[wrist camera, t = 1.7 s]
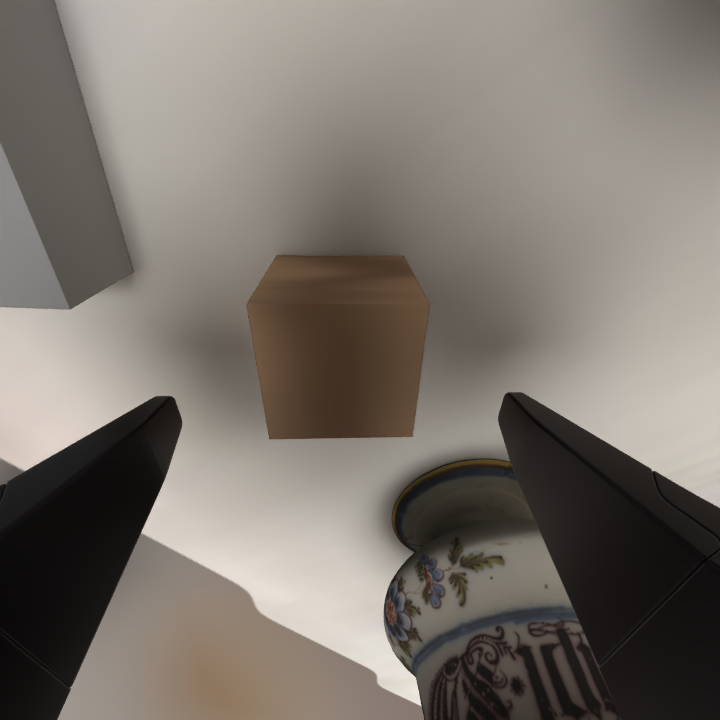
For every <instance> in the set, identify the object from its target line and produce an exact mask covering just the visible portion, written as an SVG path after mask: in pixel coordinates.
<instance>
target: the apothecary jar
mask: <svg viewBox="0 0 720 720" xmlns="http://www.w3.org/2000/svg"><path fill="white" fill-rule="evenodd" d="M392 525H393V529H394V531H395V533H396V535H397V537H398V538H399V540H400V541H401V542H402V543H403V544H404V545H405V546H406V547H407V548H409V549H410V550H412V551H414V552H415V553H414V554H413V555H412V556H410V557H409V558H408V559H407V560H406V562H405V563H404V564H403V565H402V566H401V568H400V569H399V570H398V572H397V573H396V575H395V576H394V578H393V579H392V581H391V583H390V585H389V588H388V591H387V594H386V598H385V604H384V626H385V632H386V635H387V638H388V641H389V643H390V645H391V647H392V650H393V652H394V653H395V655H396V656H397V658H398V659H399V660H400V661H401V663H402V664H403V665H404V666H405V667H406V668H407V670H408V671H410V672H411V673H412V674H413V675H414V676H415V677H416V680H417V685H418V689H419V694H420V700H421V705H422V710H423V714H424V720H621V717H620V715H619V713H618V711H617V708H616V706H615V704H614V701H613V699H612V697H611V695H610V692H609V690H608V688H607V685H606V683H605V681H604V678H603V676H602V674H601V672H600V669H599V666H600V665H598V664H597V662H596V659H595V657H594V655H593V653H592V650H591V648H590V646H589V643H588V641H587V639H586V637H585V634H584V632H583V630H582V627H581V625H580V623H579V621H578V618H577V616H576V614H575V611H574V609H573V607H572V604H571V602H570V600H569V598H568V595H567V593H566V591H565V588H564V586H563V584H562V582H561V579H560V577H559V575H558V572H557V570H556V568H555V565H554V563H553V561H552V559H551V556H550V554H549V552H548V549H547V547H546V545H545V543H544V540H543V538H542V536H541V533H540V531H539V529H538V527H537V524H536V522H535V520H534V517H533V515H532V513H531V510H530V508H529V506H528V504H527V501H526V499H525V497H524V494H523V492H522V490H521V488H520V485H519V483H518V481H517V478H516V476H515V473H514V471H513V468H512V465H511V463H510V462H506V461H500V460H488V459H479V460H468V461H462V462H457V463H453V464H449V465H445V466H443V467H440V468H438V469H436V470H433V471H432V472H430V473H428V474H426V475H423V476H422V477H420V478H419V479H417V480H416V481H414V482H413V483H412V484H411V485H410V486H408V487H407V488H406V489H405V490H404V492H403V493H402V494H401V495H400V497H399V498H398V500H397V502H396V504H395V506H394V509H393V512H392Z"/></svg>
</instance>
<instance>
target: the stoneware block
mask: <svg viewBox="0 0 720 720" xmlns="http://www.w3.org/2000/svg"><path fill="white" fill-rule="evenodd" d="M132 272H134V271H133V267H132V264H131V260H130V257H129V254H128V250H127V247H126V243H125V240H124V236H123V233H122V230H121V226H120V223H119V219H118V216H117V213H116V209H115V206H114V202H113V199H112V196H111V192H110V189H109V185H108V182H107V179H106V175H105V172H104V168H103V165H102V162H101V158H100V155H99V151H98V148H97V144H96V141H95V138H94V134H93V131H92V127H91V124H90V121H89V117H88V114H87V110H86V107H85V104H84V100H83V97H82V93H81V90H80V87H79V83H78V80H77V76H76V73H75V69H74V66H73V63H72V59H71V56H70V52H69V49H68V46H67V42H66V39H65V35H64V32H63V29H62V25H61V22H60V18H59V15H58V12H57V8H56V5H55V1H54V0H0V307H13V308H42V309H72V308H73V307H75V306H77V305H79V304H80V303H82V302H84V301H85V300H87V299H89V298H90V297H92V296H94V295H95V294H97V293H99V292H100V291H102V290H104V289H105V288H107V287H109V286H110V285H112V284H114V283H115V282H117V281H119V280H120V279H122V278H124V277H125V276H127V275H129V274H130V273H132Z"/></svg>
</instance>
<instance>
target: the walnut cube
mask: <svg viewBox="0 0 720 720" xmlns="http://www.w3.org/2000/svg"><path fill="white" fill-rule="evenodd" d="M246 305H247V311H248V317H249V322H250V328H251V334H252V340H253V346H254V352H255V358H256V364H257V370H258V375H259V381H260V387H261V393H262V399H263V405H264V411H265V417H266V422H267V428H268V434H269V439H311V438H369V437H413V430H414V422H415V414H416V406H417V399H418V391H419V383H420V375H421V367H422V360H423V352H424V344H425V336H426V329H427V321H428V313H429V305H430V304H429V302H428V300H427V298H426V296H425V294H424V293H423V291H422V289H421V287H420V285H419V283H418V281H417V280H416V278H415V276H414V274H413V272H412V270H411V269H410V267H409V265H408V263H407V261H406V259H405V257H404V256H299V255H277V256H276V257H275V259H274V261H273V262H272V264H271V265H270V267H269V269H268V270H267V272H266V274H265V275H264V277H263V278H262V280H261V282H260V283H259V285H258V286H257V288H256V290H255V291H254V293H253V295H252V296H251V298H250V299H249V301H248V303H247V304H246Z"/></svg>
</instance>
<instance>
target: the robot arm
mask: <svg viewBox="0 0 720 720" xmlns="http://www.w3.org/2000/svg"><path fill="white" fill-rule="evenodd" d="M498 422H499V426H500V429H501V432H502V436H503V439H504V442H505V445H506V449H507V452H508V455H509V458H510V462H511V465H512V468H513V471H514V473H515V476H516V478H517V481H518V483H519V485H520V488H521V490H522V492H523V494H524V497H525V499H526V501H527V504H528V506H529V508H530V510H531V513H532V515H533V517H534V520H535V522H536V524H537V527H538V529H539V531H540V533H541V536H542V538H543V540H544V543H545V545H546V547H547V549H548V552H549V554H550V556H551V559H552V561H553V563H554V565H555V568H556V570H557V572H558V575H559V577H560V579H561V582H562V584H563V586H564V588H565V591H566V593H567V595H568V598H569V600H570V602H571V604H572V607H573V609H574V611H575V614H576V616H577V618H578V621H579V623H580V625H581V627H582V630H583V632H584V634H585V637H586V639H587V641H588V643H589V646H590V648H591V650H592V653H593V655H594V657H595V659H596V662H597V664H598V665H600V666H599V669H600V672H601V674H602V676H603V678H604V681H605V683H606V685H607V688H608V690H609V692H610V695H611V697H612V699H613V701H614V704H615V706H616V708H617V711H618V713H619V715H620V717H621V720H720V508H719V507H717V506H715V505H713V504H712V503H710V502H708V501H706V500H704V499H702V498H700V497H699V496H697V495H695V494H693V493H692V492H690V491H688V490H686V489H685V488H683V487H681V486H679V485H678V484H676V483H674V482H672V481H671V480H669V479H667V478H666V477H664V476H662V475H661V474H659V473H657V472H656V471H653V472H652V470H651V469H650V468H649V467H647V466H645V465H644V464H642V463H640V462H639V461H637V460H635V459H634V458H632V457H630V456H629V455H627V454H625V453H623V452H622V451H620V450H618V449H617V448H615V447H613V446H612V445H610V444H608V443H607V442H605V441H603V440H601V439H600V438H598V437H596V436H595V435H593V434H591V433H590V432H588V431H586V430H585V429H583V428H581V427H579V426H578V425H576V424H574V423H573V422H571V421H569V420H568V419H566V418H564V417H563V416H561V415H559V414H558V413H556V412H554V411H552V410H551V409H549V408H547V407H546V406H544V405H542V404H541V403H539V402H537V401H536V400H534V399H532V398H530V397H529V396H527V395H525V394H524V393H521V392H508V393H506V394H505V396H504V398H503V402H502V405H501V408H500V412H499V416H498ZM181 428H182V419H181V415H180V413H179V410H178V407H177V404H176V401H175V399H174V398H173V397H172V396H156V397H154V398H152V399H150V400H148V401H147V402H145V403H143V404H141V405H140V406H138V407H136V408H134V409H133V410H131V411H129V412H127V413H126V414H124V415H122V416H120V417H119V418H117V419H115V420H114V421H112V422H110V423H108V424H107V425H105V426H103V427H101V428H100V429H98V430H96V431H94V432H93V433H91V434H89V435H87V436H86V437H84V438H82V439H80V440H79V441H77V442H75V443H73V444H72V445H70V446H68V447H67V448H65V449H63V450H61V451H60V452H58V453H56V454H54V455H53V456H51V457H49V458H47V459H46V460H44V461H42V462H40V463H39V464H37V465H35V466H33V467H32V468H30V469H28V470H26V471H25V472H23V473H21V474H20V475H18V476H16V477H15V478H13V479H11V480H9V481H8V482H7V484H2V485H0V720H57V719H58V717H59V714H60V712H61V710H62V708H63V705H64V703H65V701H66V699H67V696H68V695H69V692H70V690H71V688H70V687H71V686H72V685H73V683H74V680H75V678H76V676H77V674H78V672H79V669H80V667H81V665H82V663H83V660H84V658H85V656H86V654H87V652H88V649H89V647H90V645H91V642H92V640H93V638H94V636H95V634H96V632H97V629H98V627H99V625H100V622H101V620H102V618H103V616H104V614H105V611H106V609H107V607H108V605H109V602H110V600H111V598H112V596H113V594H114V592H115V589H116V587H117V585H118V582H119V580H120V578H121V576H122V574H123V571H124V569H125V567H126V565H127V562H128V560H129V558H130V556H131V554H132V552H133V549H134V547H135V545H136V543H137V540H138V538H139V536H140V534H141V532H142V529H143V527H144V525H145V523H146V520H147V518H148V516H149V514H150V512H151V509H152V507H153V505H154V503H155V500H156V498H157V496H158V494H159V492H160V489H161V487H162V485H163V482H164V480H165V477H166V475H167V472H168V469H169V466H170V463H171V459H172V456H173V453H174V450H175V447H176V444H177V441H178V438H179V434H180V431H181Z"/></svg>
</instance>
